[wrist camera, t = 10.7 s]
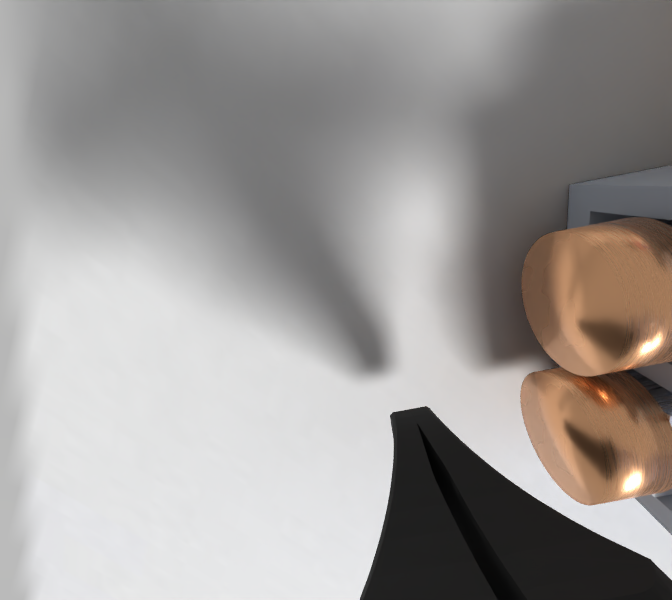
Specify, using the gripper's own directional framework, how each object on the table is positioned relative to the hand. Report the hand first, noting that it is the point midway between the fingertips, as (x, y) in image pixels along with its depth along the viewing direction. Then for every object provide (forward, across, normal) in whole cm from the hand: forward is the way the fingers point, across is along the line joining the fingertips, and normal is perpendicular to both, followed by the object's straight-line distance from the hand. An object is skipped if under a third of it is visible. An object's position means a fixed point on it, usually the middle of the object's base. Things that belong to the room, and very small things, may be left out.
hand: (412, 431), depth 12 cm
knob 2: (+1, -8, 0) cm, 8 cm away
